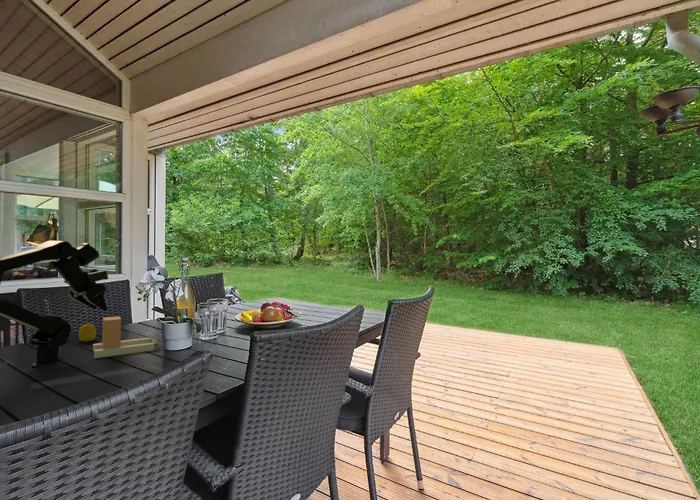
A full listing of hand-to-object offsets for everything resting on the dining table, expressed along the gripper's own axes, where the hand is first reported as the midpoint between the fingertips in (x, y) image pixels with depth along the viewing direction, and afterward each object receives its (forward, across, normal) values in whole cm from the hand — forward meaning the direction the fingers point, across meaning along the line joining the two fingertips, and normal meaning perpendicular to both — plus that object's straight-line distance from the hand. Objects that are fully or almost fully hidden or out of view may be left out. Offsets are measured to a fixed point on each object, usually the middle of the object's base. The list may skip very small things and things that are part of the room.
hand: (100, 309), depth 129 cm
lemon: (+13, +17, +7) cm, 22 cm away
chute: (+17, -5, +4) cm, 18 cm away
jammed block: (+14, -4, +7) cm, 16 cm away
